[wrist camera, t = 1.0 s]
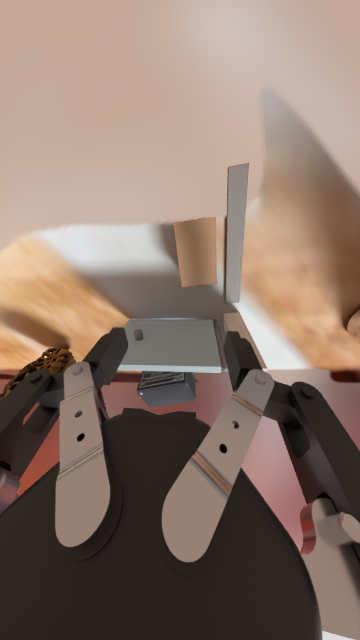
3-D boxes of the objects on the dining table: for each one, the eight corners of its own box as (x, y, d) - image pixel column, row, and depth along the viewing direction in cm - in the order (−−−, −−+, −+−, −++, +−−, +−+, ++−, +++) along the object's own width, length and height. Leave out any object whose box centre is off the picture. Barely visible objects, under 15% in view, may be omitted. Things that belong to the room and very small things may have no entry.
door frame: (249, 163, 20) (334, 80, 8) (236, 352, 37) (256, 415, 25) (225, 168, 20) (271, 96, 8) (223, 353, 37) (237, 415, 25)
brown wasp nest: (83, 339, 38) (29, 399, 25) (92, 351, 40) (45, 412, 27) (43, 343, 40) (-26, 401, 27) (53, 355, 42) (-7, 413, 29)
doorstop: (210, 217, 23) (215, 216, 18) (212, 271, 27) (216, 283, 22) (177, 222, 24) (173, 223, 19) (183, 275, 28) (181, 287, 23)
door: (127, 313, 32) (97, 357, 22) (218, 313, 30) (230, 359, 20) (130, 324, 33) (103, 369, 23) (216, 324, 32) (228, 372, 22)
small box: (158, 369, 42) (148, 409, 33) (147, 352, 39) (133, 391, 30) (195, 361, 39) (196, 402, 31) (187, 342, 36) (185, 382, 27)
